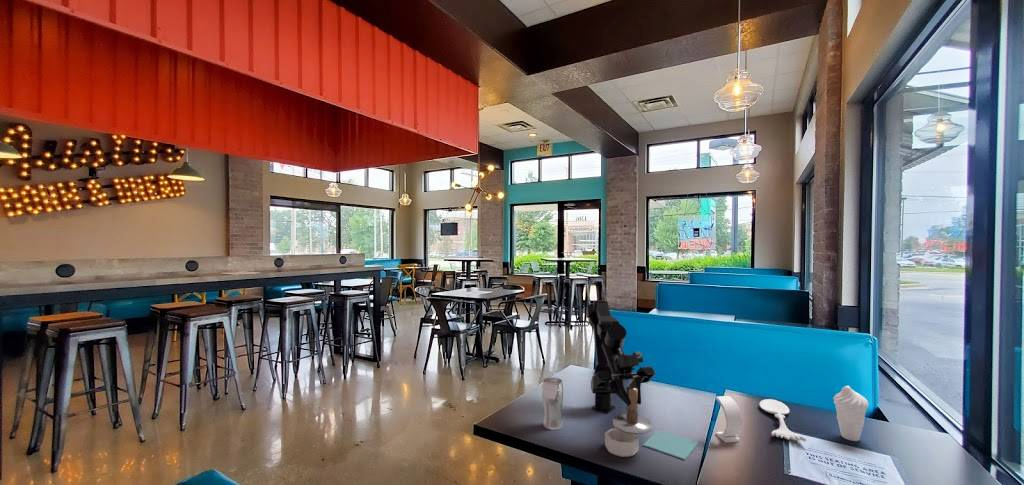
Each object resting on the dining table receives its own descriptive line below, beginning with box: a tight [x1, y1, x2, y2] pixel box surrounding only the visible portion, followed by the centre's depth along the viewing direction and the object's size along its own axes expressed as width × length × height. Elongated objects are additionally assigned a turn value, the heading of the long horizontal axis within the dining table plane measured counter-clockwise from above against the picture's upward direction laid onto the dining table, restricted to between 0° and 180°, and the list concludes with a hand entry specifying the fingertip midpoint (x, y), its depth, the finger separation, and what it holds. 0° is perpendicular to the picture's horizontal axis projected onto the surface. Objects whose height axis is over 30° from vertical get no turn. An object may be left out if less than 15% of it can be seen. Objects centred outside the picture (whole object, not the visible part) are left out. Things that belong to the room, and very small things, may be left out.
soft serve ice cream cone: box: [832, 385, 869, 442], centre depth 125 cm, size 8×8×16 cm
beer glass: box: [541, 376, 564, 431], centre depth 134 cm, size 7×7×15 cm
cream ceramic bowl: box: [604, 428, 640, 458], centre depth 119 cm, size 9×9×4 cm
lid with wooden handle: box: [612, 385, 653, 435], centre depth 120 cm, size 11×11×11 cm
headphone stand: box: [715, 395, 743, 443], centre depth 125 cm, size 5×6×12 cm
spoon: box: [758, 398, 807, 443], centre depth 135 cm, size 9×32×4 cm, turn 155°
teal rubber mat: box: [643, 429, 699, 461], centre depth 122 cm, size 12×12×1 cm
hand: (634, 404), depth 118 cm, fingers closed on lid with wooden handle, 3 cm apart
